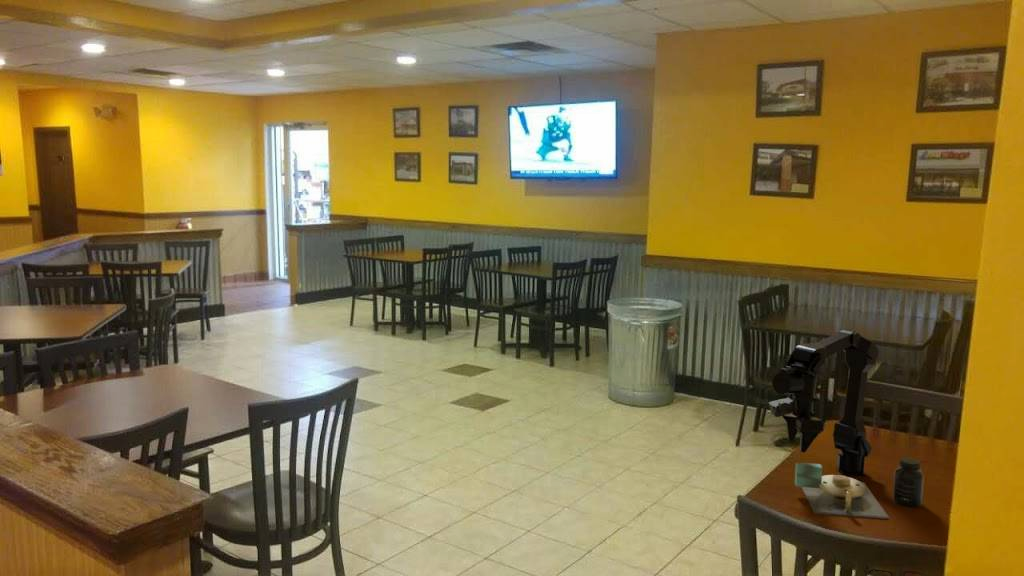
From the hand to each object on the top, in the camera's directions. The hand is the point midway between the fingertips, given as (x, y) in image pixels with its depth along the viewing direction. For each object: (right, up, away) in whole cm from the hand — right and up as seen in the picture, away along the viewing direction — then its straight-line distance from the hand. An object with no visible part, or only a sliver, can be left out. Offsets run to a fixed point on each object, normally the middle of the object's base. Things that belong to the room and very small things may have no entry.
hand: (796, 446), depth 202 cm
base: (+11, -14, -2) cm, 18 cm away
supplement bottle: (+28, -14, -5) cm, 32 cm away
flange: (+8, -11, -2) cm, 14 cm away
